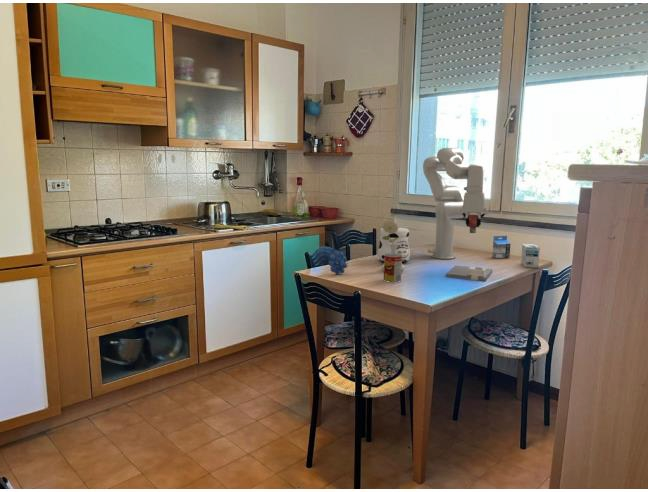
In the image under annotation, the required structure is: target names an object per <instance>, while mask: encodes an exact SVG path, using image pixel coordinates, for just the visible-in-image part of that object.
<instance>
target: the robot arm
mask: <svg viewBox="0 0 648 492" xmlns="http://www.w3.org/2000/svg"><path fill="white" fill-rule="evenodd" d="M464 158H465V153H464V151H463V150H462V149H461V148H460V147H442V148H441V149H438V151H437V153H436V156H430V157H427V158H425V159H424V160H423V162H422V163H423V164H422V171H423V174H424V176H425V178H426V181H427V182H428V185H429V187H430V191H431V193H432V196H433V200H434V201H435V202H436V203H437V204H436V205H435V208H434V211H435V212H434V213H435V220H436V221H435V222H436V223H435V227H436V229H435V245H434V246H435V247H434V248H433V249H432V248H428V249H427V252H428V253H431V254H432V255H431V257H432V258H434V259H439V260H452V259H455V258H456V255H455V254H453V246H454V230H455V229H454V224H453V222H452V221H451V219H463V218H465V225H466V227H468V225H469V215H471V214H477V215H478V219H477V227H476V228H479V227H480V226H481V224H482V218H484V216H486V215H487V214H489V210H488V209H487V207H486V200H485V198H486V197H485V192H484V191H483V190H484V189H483V188H484V170H485V168H484V165H483V164H472V163H471V164H470V163H469V164H466V163H465V164H463V161H464ZM438 172H445V173H446V175H448V176H449V177H450V178H451V179H453V180H466V181H467V182H466V187H463V191H466V192H464V195H463V192H462V190H461V188H460V186H457V185H447V184H446V181H445V179H444V177H442V175H441V174H439V173H438Z"/></svg>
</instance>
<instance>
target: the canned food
mask: <svg viewBox="0 0 648 492" xmlns="http://www.w3.org/2000/svg"><path fill="white" fill-rule="evenodd" d="M383 264H384V269H383V281H384V280H385V281H389V282H398V283H400V282H399V281H401V282H402V271H401V266H402V264H403V263H402V255H401V254H396V253H388V254H384V262H383ZM385 281H384V282H385ZM389 282H388V283H389Z"/></svg>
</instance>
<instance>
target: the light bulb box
mask: <svg viewBox="0 0 648 492" xmlns="http://www.w3.org/2000/svg"><path fill="white" fill-rule="evenodd" d="M540 250H541V248H540V247H539V246H537V244H535V243H534V244H533V243H532V244H531V243H522V248H521V259H520V260H521V261H520V263H521V265H522V266H523V267H525V268H533V269H535V268H536V269H537V268H539V262H540Z"/></svg>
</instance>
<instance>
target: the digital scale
mask: <svg viewBox="0 0 648 492" xmlns="http://www.w3.org/2000/svg"><path fill="white" fill-rule="evenodd" d="M470 267H471V266H465V265H464V266H463V265H456V264H455V265H454V266H453V267H452V268H451V269H450V270H448V271H447V272H446V273H445V277H446V278H454V279H455V278H456V279H463V280H473V281H482V282H486V281H487V280H488V279H489V277H490V276H491V274H492V273H493V269H492V268H486V275H485V276H484V277H482V276H473V275H468V270H469V268H470Z"/></svg>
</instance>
